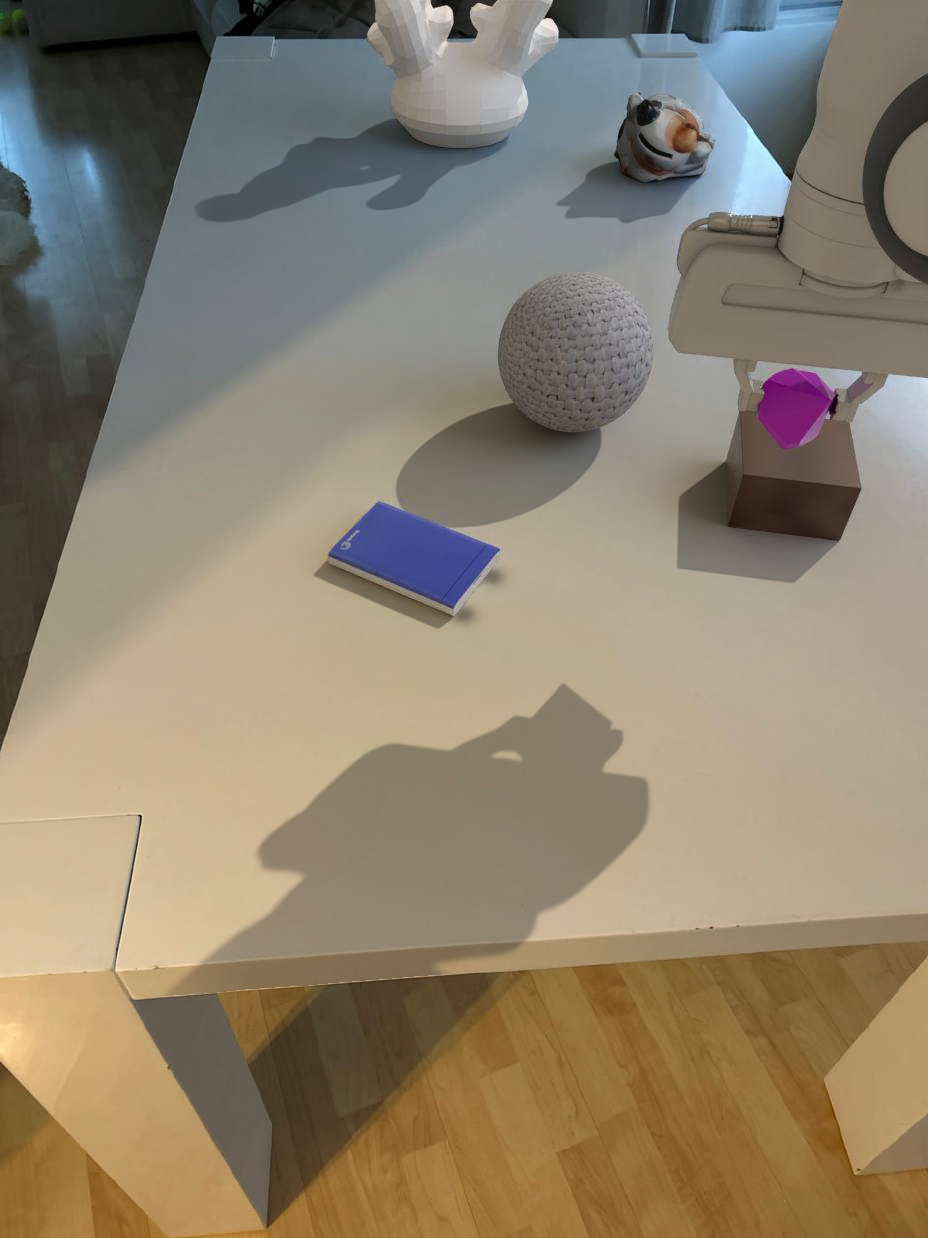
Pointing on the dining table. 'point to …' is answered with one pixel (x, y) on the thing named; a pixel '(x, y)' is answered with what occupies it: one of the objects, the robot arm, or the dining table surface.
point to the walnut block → (791, 480)
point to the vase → (461, 67)
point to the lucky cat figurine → (662, 139)
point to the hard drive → (415, 557)
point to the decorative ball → (575, 351)
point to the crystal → (794, 407)
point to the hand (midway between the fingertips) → (793, 412)
